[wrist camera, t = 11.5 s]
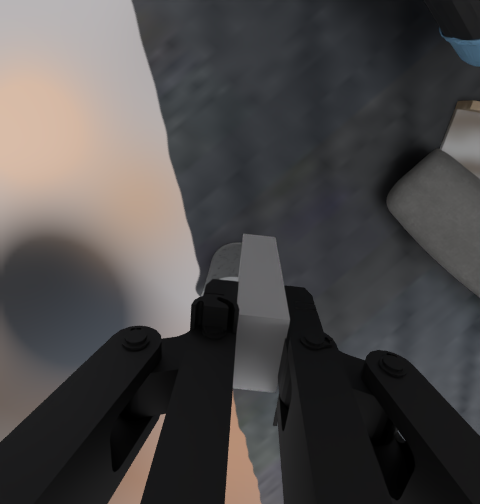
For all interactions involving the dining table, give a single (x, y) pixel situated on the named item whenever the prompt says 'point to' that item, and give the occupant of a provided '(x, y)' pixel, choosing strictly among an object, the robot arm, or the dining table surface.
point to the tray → (464, 136)
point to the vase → (442, 214)
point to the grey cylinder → (225, 263)
